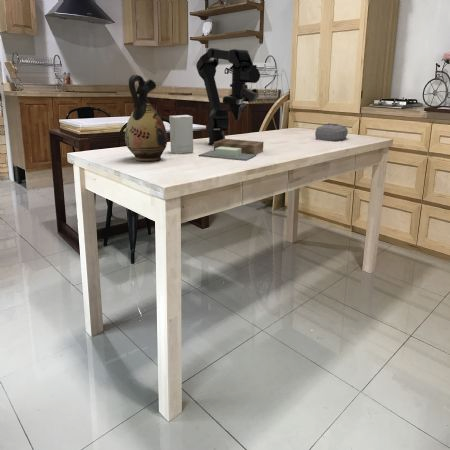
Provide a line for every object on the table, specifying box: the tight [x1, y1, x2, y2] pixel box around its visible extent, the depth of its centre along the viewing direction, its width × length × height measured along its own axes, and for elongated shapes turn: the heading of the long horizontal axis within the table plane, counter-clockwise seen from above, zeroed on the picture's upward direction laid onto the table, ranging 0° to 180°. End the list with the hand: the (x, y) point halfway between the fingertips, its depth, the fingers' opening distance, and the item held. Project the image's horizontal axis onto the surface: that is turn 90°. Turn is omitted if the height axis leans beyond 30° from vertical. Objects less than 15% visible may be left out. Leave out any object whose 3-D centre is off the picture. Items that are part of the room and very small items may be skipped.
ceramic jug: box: [124, 74, 168, 162], centre depth 152 cm, size 17×15×30 cm
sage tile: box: [215, 147, 241, 157], centre depth 168 cm, size 9×6×2 cm, turn 68°
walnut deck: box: [213, 138, 264, 156], centre depth 179 cm, size 18×12×4 cm, turn 68°
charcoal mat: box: [198, 150, 257, 162], centre depth 169 cm, size 20×12×1 cm, turn 68°
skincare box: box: [169, 114, 194, 154], centre depth 172 cm, size 8×6×15 cm
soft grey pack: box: [314, 122, 349, 142], centre depth 224 cm, size 15×8×20 cm
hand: (236, 120), depth 181 cm, fingers closed
